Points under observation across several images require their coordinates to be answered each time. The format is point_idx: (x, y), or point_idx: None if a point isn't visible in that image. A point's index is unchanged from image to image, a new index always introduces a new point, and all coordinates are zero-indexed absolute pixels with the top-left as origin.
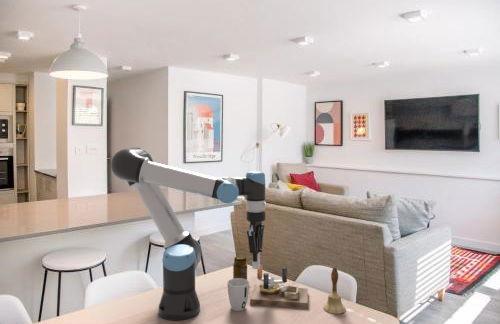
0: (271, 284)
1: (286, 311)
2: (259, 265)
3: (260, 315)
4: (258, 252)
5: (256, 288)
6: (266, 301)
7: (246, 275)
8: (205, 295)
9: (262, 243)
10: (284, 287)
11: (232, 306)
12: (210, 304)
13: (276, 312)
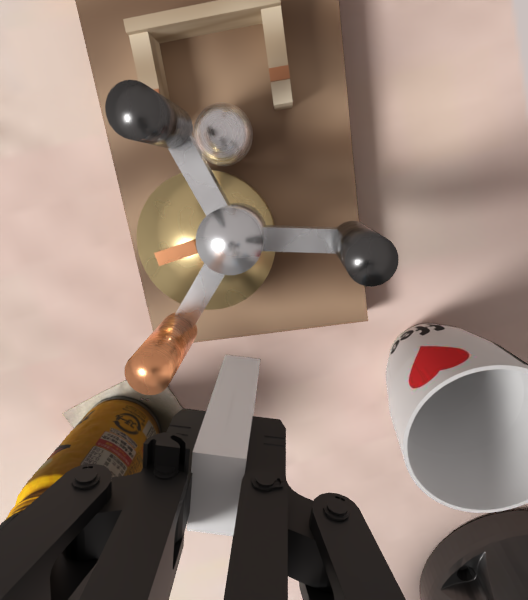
0: (259, 218)
1: (408, 74)
2: (233, 370)
3: (492, 218)
4: (194, 469)
5: (204, 325)
6: (358, 220)
7: (99, 428)
8: None
9: (12, 522)
10: (234, 116)
11: (471, 386)
12: (415, 490)
13: (435, 134)
